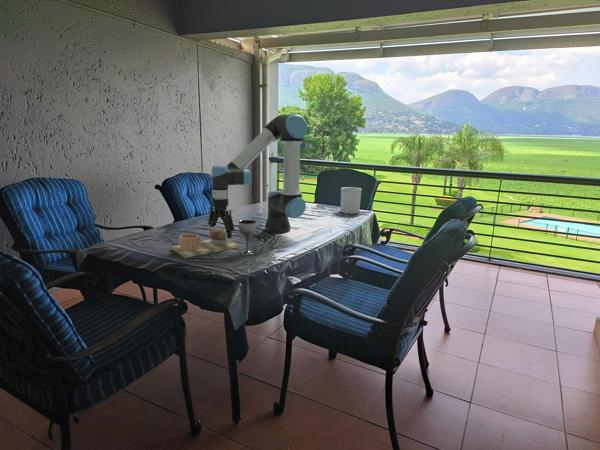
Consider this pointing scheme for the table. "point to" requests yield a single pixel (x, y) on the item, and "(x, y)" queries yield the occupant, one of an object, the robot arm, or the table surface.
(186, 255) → the serving board
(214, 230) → the lid
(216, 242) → the light grey domed disc
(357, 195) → the utensil holder
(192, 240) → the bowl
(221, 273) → the table surface
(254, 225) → the wine glass
